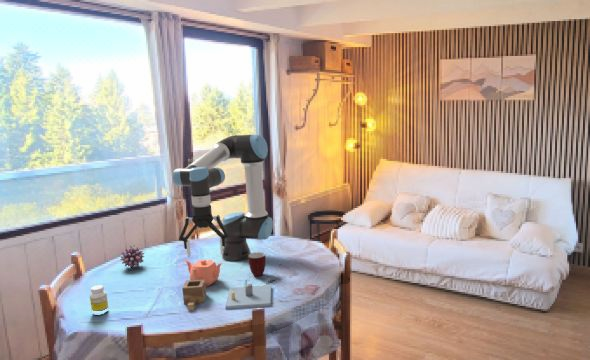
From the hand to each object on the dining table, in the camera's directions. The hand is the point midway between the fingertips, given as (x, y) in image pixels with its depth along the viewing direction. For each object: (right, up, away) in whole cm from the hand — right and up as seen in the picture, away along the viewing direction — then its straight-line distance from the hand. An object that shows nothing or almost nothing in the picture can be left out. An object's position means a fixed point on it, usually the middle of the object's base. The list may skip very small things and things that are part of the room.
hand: (205, 255), depth 188 cm
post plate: (+18, -18, +2) cm, 26 cm away
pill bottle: (-42, -23, -5) cm, 48 cm away
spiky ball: (-46, -14, +44) cm, 65 cm away
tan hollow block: (-5, -20, 0) cm, 20 cm away
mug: (+20, -14, +25) cm, 35 cm away
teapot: (-5, -17, +19) cm, 26 cm away
